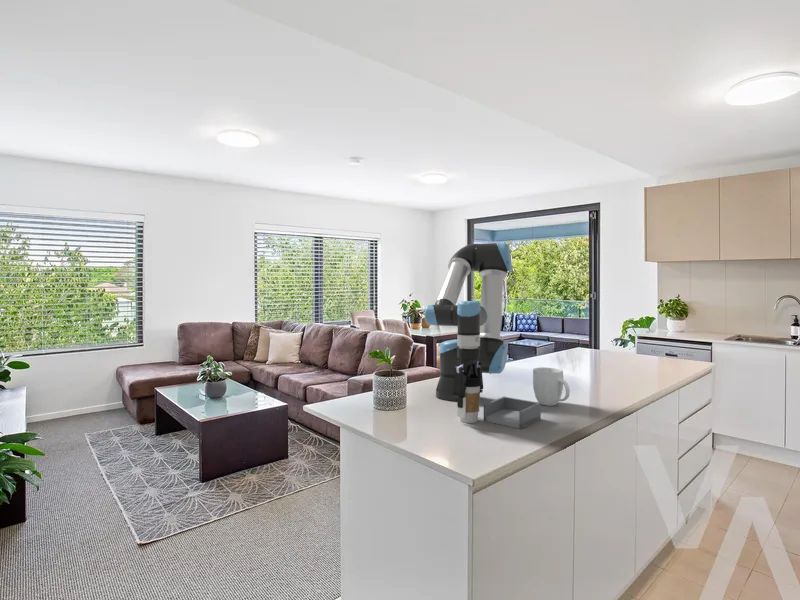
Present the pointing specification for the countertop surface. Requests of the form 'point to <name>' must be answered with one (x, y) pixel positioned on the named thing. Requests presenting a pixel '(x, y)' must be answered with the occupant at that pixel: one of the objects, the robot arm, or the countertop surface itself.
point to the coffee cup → (472, 399)
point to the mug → (549, 385)
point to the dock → (512, 412)
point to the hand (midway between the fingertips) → (468, 413)
